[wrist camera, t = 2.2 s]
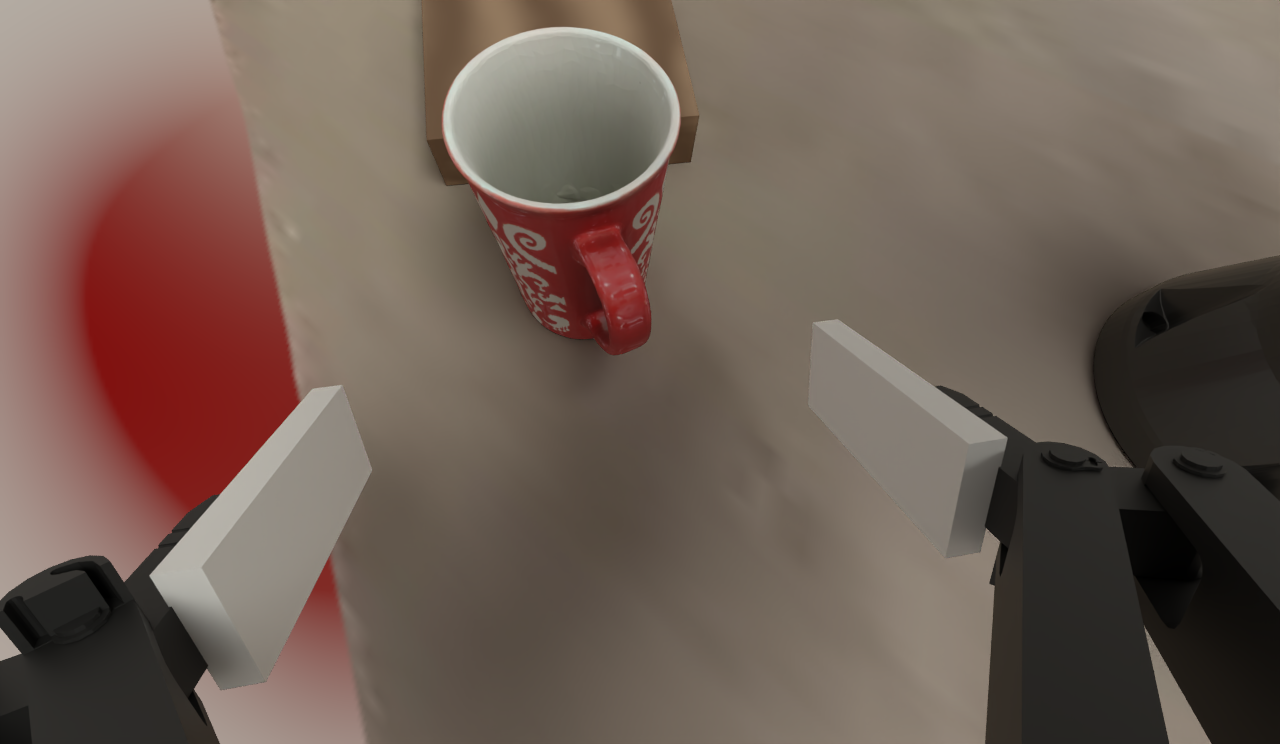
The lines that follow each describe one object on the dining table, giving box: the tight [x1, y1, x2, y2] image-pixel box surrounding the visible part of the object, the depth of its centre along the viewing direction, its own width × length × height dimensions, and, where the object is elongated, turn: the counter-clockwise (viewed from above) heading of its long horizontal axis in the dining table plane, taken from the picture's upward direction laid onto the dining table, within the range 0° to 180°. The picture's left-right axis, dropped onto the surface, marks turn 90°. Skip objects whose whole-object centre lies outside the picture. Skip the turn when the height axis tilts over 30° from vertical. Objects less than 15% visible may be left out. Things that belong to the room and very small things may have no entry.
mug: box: [442, 27, 681, 355], centre depth 27 cm, size 13×9×14 cm
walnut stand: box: [422, 0, 699, 186], centre depth 37 cm, size 16×16×4 cm
